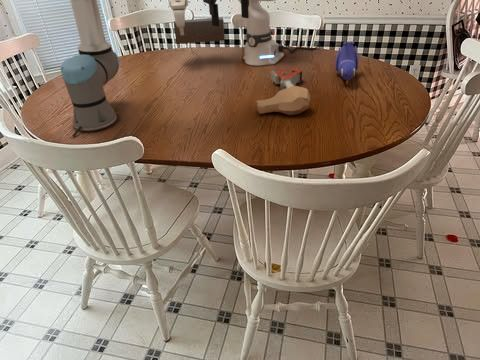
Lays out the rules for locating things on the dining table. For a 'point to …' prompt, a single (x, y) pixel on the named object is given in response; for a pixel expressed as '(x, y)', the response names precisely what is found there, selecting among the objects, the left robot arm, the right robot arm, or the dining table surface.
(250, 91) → the dining table surface
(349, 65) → the toy
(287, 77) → the tape dispenser
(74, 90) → the left robot arm
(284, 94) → the squash
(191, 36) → the bar
